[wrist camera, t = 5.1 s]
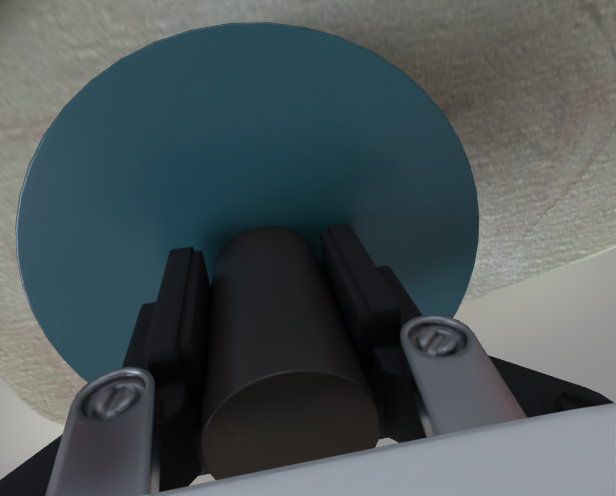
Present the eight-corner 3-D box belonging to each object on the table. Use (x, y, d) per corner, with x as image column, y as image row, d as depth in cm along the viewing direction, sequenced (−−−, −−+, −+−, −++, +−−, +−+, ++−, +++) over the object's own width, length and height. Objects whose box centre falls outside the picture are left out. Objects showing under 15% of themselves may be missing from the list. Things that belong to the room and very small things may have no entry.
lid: (-56, 51, 9) (-509, 84, 4) (480, 0, 11) (776, -35, 5) (111, 439, 15) (37, 694, 9) (448, 375, 16) (569, 565, 11)
